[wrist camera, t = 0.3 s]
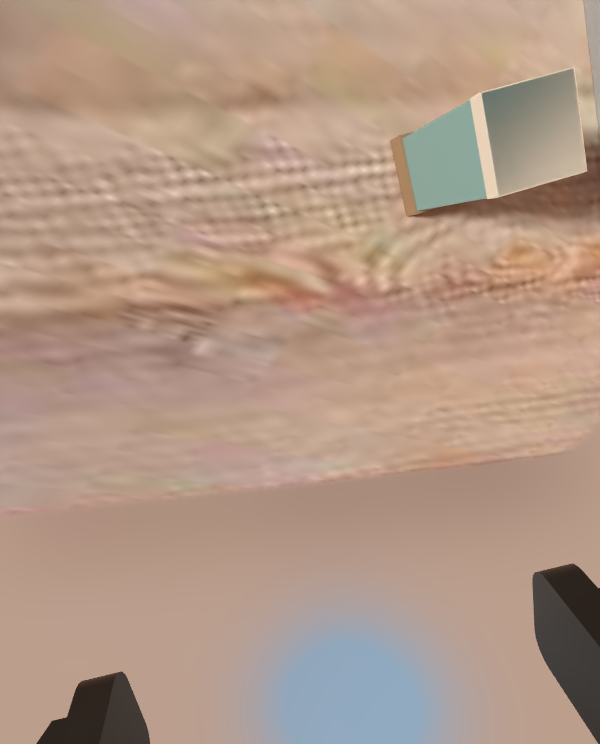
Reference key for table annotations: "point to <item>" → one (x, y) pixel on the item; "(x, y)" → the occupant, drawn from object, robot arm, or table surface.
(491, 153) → the teal tall block
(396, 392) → the table surface
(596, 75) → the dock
